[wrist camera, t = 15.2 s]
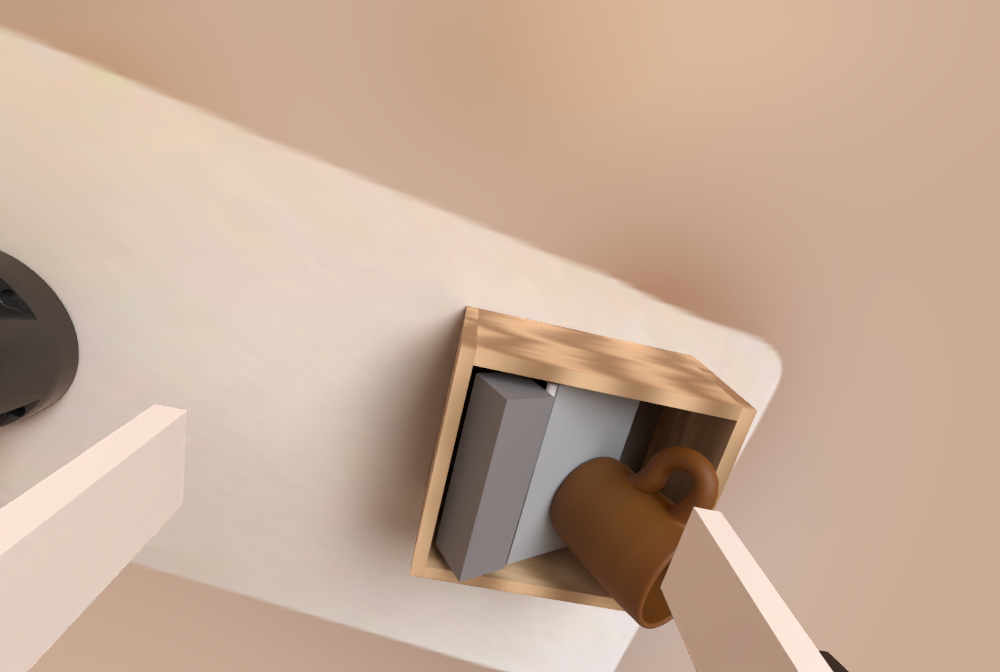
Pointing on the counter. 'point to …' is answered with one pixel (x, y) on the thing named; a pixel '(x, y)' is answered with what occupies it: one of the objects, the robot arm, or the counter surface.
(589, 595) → the trapdoor frame
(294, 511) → the counter surface
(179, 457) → the robot arm
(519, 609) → the counter surface
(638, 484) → the mug
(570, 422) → the trapdoor
